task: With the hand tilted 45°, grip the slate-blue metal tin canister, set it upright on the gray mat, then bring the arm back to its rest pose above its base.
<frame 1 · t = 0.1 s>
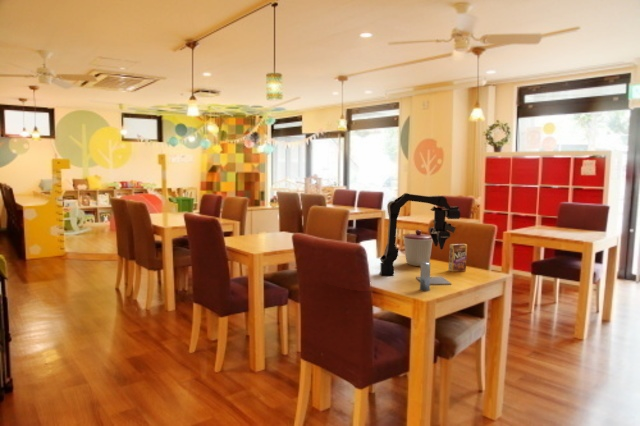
hand: (438, 247, 241), 15 cm above the table, tool pointing down, fingers open, 9 cm apart
canister: (417, 264, 267), on the table
candy box: (457, 271, 251), on the table
gray mat: (433, 281, 227), on the table
tin canister: (424, 289, 211), on the table
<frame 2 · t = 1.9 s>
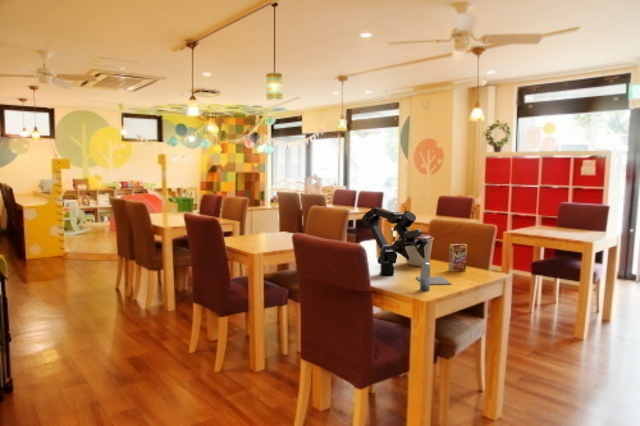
hand: (416, 258, 217), 13 cm above the table, tool tilted 45°, fingers open, 9 cm apart
nothing on the table moved.
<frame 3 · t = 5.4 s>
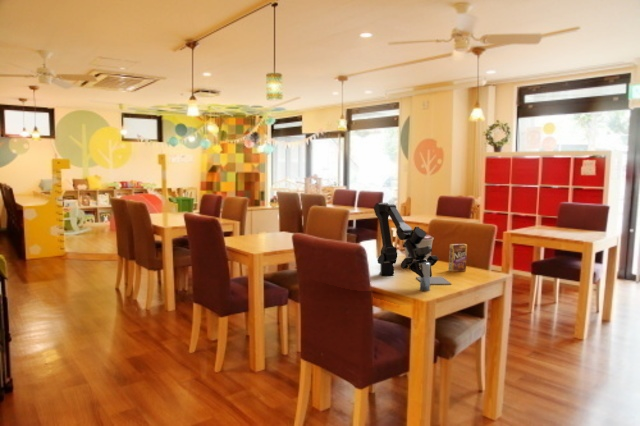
hand: (427, 276, 209), 7 cm above the table, tool tilted 45°, fingers closed on tin canister, 4 cm apart
tin canister: (424, 289, 211), on the table, touching gripper
everything else where it was.
when the fingers open (8 cm above the table, at t = 10.8 s): tin canister drops 1 cm, resting on gray mat.
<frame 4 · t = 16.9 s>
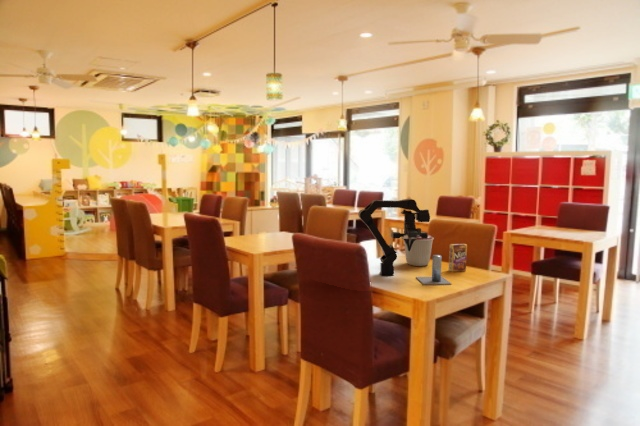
hand: (409, 250, 240), 13 cm above the table, tool pointing down, fingers closed
tin canister: (436, 281, 225), point 1 cm above the table, touching gray mat
everything else where it was.
at the end: tin canister inside the target area on the gray mat (0.5 cm from its centre), point 0.6 cm above the gray mat's base; tin canister tilted 0°; the gripper is holding nothing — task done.
